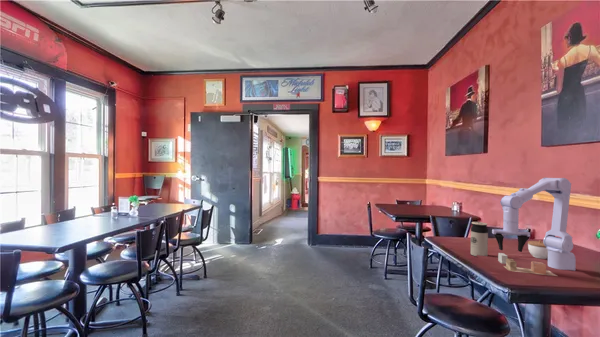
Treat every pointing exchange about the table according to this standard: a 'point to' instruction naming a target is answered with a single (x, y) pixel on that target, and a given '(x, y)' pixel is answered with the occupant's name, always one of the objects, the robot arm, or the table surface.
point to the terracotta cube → (538, 267)
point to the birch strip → (512, 266)
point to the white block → (502, 258)
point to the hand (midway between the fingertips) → (510, 250)
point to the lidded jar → (538, 249)
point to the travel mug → (479, 239)
